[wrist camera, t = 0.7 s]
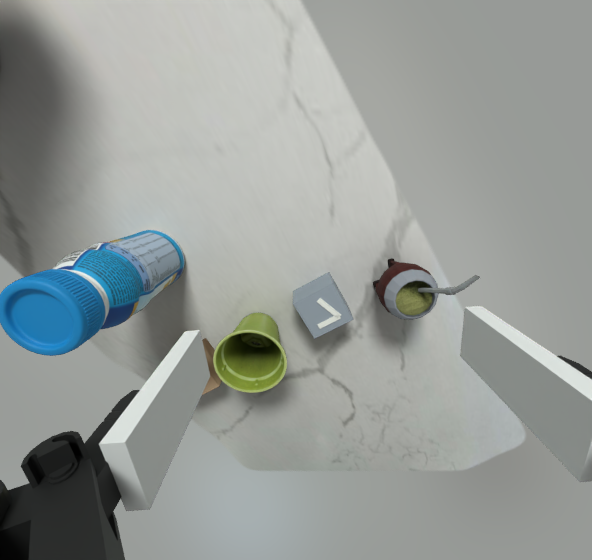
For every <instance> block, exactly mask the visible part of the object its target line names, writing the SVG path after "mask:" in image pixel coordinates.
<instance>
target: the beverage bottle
mask: <svg viewBox="0 0 592 560" xmlns="http://www.w3.org/2000/svg"><path fill="white" fill-rule="evenodd" d="M183 269H184V255H183V252H182V249H181V248H180V246H179V244H178V243H177V242H176V241H175V240H174V239H173V238H172V237H170V236H169V235H167V234H165V233H163V232H160V231H156V230H146V231H142V232H139V233H136V234H134V235H130V236H127V237H124V238H120V239H117V240H113V241H110V242H103V243H98V244H94V245H91V246H89V247H87V248H85V249H83V250H79V251H76V252H73V253H71V254H69V255H67V256H65V257H64V258H63V259H61V260H60V261H59V262H58V263H57V264H56V265H55V266H54V268H53V269H51V270H46V271H42V272H39V273H36V274H33V275H30V276H27V277H24V278H21V279H19V280H17V281H15V282H13V283H12V284H10V285H8V286H7V287H6V288H5V289H4V290H3V291H2V292H1V294H0V323H1V325H2V327H3V329H4V330H5V332H6V333H7V334H8V335H9V337H10V338H11V339H12V340H14V341H15V342H16V343H17V344H19V345H20V346H22V347H23V348H25V349H27V350H29V351H31V352H34V353H37V354H42V355H50V356H53V355H61V354H65V353H67V352H70V351H72V350H74V349H76V348H78V347H79V346H80V345H82V344H83V343H84V342H86V341H87V340H88V339H90V338H91V337H92V336H93V335H95V334H96V333H97V332H98V331H99V330H100V329H106V328H110V327H113V326H116V325H119V324H121V323H123V322H125V321H126V320H127V319H129V318H130V317H131V316H132V315H134V314H136V313H137V312H139V311H140V310H142V309H143V308H144V307H145V306H146V305H147V304H148V303H149V301H150V300H151V299H152V298H153V297H154V296H156V295H157V294H158V293H159V292H161V291H162V290H163V289H164V288H166V287H167V286H169V285H171V284H172V283H174V282H175V281H176V280H177V279H178V278H179V277H180V276H181V274H182V272H183Z"/></svg>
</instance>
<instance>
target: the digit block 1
mask: <svg viewBox="0 0 592 560" xmlns="http://www.w3.org/2000/svg"><path fill="white" fill-rule="evenodd" d="M202 341H203V346H204V350H205V355H206V359H207V363H208V368H209V372H210V378H209V380H208V382H207V384H206V387H205V389H204V391H203V393H202V395H203V394H205V393H207V392H209V391H211V390H213V389H215V388H217V387H219V386H220V383H221V381H222V380H221V379H220V378H219V376H218V374H217V373H216V371H215V368H214V363H213V357H214V352H215V350H214V348H213V347H212V346H211V345H210V343H209V342H208V341H207V339H206V338H205V339H203V340H202Z"/></svg>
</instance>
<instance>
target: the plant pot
mask: <svg viewBox="0 0 592 560" xmlns="http://www.w3.org/2000/svg"><path fill="white" fill-rule="evenodd" d="M252 342H256V343H260V345H256V344H253V343H252ZM213 363H214V368H215V371H216V373H217V374H218V376H219V378H220V379H221V380H222V381H223V382H224V383H225V384H226V385H228V386H229V387H231V388H233V389H235V390H238V391H242V392H247V393H257V392H262V391H266V390H268V389H271V388H273V387H274V386H275V385H277V384H278V383H279V382H280V381H281V380H282V378H283V377H284V375H285V372H286V368H287V358H286V354H285V351H284V349H283V347H282V346H281V344H280V339H279V332H278V326H277V324H276V323H275V321H274V320H273V319H272V318H271V317H270V316H268V315H266V314H263V313H253V314H250V315H248V316H246V317H245V318H244V319H243V320H242V321H241V322H240V324H239V325H238V326H237V328H236V329H235V330H234V332H233V333H231V334H229V335H227V336H226V337H224V338H223V339H222V340H221V341H220V343H219V344H218V345H217V347H216V349H215V352H214V357H213Z"/></svg>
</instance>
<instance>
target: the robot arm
mask: <svg viewBox="0 0 592 560" xmlns="http://www.w3.org/2000/svg"><path fill="white" fill-rule="evenodd" d="M460 356H461V357H462V358H463V360H464V361H465V362H466V363H467V364H468V365H469V366H470V367H471V368H472V369H473V370H474V371H475V372H476V373H477V374H478V375H479V376H480V377H481V379H482V380H483V381H484V382H485V383H486V384H487V385H488V386H489V387H490V388H491V389H492V390H493V391H494V392H495V393H496V394H497V395H498V397H499V398H500V399H501V400H502V401H503V402H504V403H505V404H506V405H507V406H508V407H509V408H510V409H511V410H512V411H513V412H514V413H515V414H516V416H517V417H518V418H519V419H520V420H521V421H522V422H523V423H524V424H525V425H526V426H527V427H528V428H529V429H530V430H531V431H532V432H533V433H534V434H535V436H536V437H537V438H538V439H539V440H540V441H541V442H542V443H543V444H544V445H545V446H546V447H547V448H548V449H549V450H550V451H551V452H552V454H553V455H554V456H555V457H556V458H557V459H558V460H559V461H560V462H561V463H562V464H563V465H564V466H565V467H566V468H567V469H568V470H569V471H570V472H571V474H572V475H573V476H574V477H575V478H576V479H577V480H578V481H579V482H587V481H592V372H591V371H589V370H588V369H587V368H585V367H583V366H582V365H580V364H579V363H576V362H574V361H572V360H569V359H567V358H564V357H562V356H555V355H554V354H552V353H551V352H549V351H548V350H546V349H545V348H543V347H542V346H540V345H539V344H537V343H536V342H534V341H533V340H531V339H530V338H528V337H527V336H525V335H524V334H522V333H521V332H519V331H518V330H516V329H515V328H513V327H512V326H510V325H509V324H507V323H506V322H504V321H503V320H501V319H500V318H498V317H497V316H495V315H494V314H492V313H491V312H489V311H488V310H486V309H485V308H483V307H482V306H474V307H465V311H464V321H463V332H462V342H461V353H460ZM209 378H210V372H209V368H208V363H207V359H206V355H205V350H204V346H203V341H202V337H201V333H200V330H194V331H185V332H184V333H183V335H182V336H181V337H180V338H179V340H178V341H177V342H176V344H175V345H174V346H173V348H172V349H171V350H170V352H169V353H168V354H167V356H166V357H165V358H164V359H163V361H162V362H161V363H160V365H159V366H158V367H157V369H156V370H155V371H154V373H153V374H152V375H151V376H150V378H149V379H148V380H147V382H146V383H145V384H144V386H143V387H142V388H141V390H133V391H131V392H130V393H129V394H127V395H126V396H125V397H124V398H122V399H121V400H120V401H119V402H118V404H117V405H116V406H115V407H114V408H113V409H112V412H111V413H109V414H108V416H107V417H106V418H105V419H104V422H102V423H101V424H100V425H99V426H98V428H97V429H96V430H95V431H94V433H93V434H92V435H91V436H90V437H89V439H88V440H87V441H86V442H85V444H84V442H83V440H82V438H81V436H80V434H79V433H78V432H73V431H70V432H63V433H61V434H58V435H56V436H52V437H51V438H49V439H47V440H45V441H43V442H42V443H40V444H39V445H38V446H36V447H35V448H34V449H33V450H31V451H30V452H29V454H28V455H27V456H26V457H25V458H24V460H23V462H22V465H21V467H22V469H23V471H24V473H25V475H26V477H27V479H28V481H29V482H30V483H29V484H26V485H23V486H20V487H17V488H14V489H11V490H7V488H6V486H5V485H4V483H3V482H2V481H1V480H0V560H125V557H124V553H123V548H122V543H121V539H120V534H119V530H118V526H117V521H116V518H115V515H114V512H113V511H114V509H115V507H116V506H117V504H118V502H119V500H120V498H121V500H122V502H123V505H124V507H125V509H126V511H134V510H149V509H150V508H151V506H152V503H153V501H154V499H155V497H156V495H157V493H158V490H159V488H160V486H161V484H162V481H163V479H164V477H165V475H166V473H167V470H168V468H169V466H170V464H171V462H172V459H173V457H174V455H175V452H176V451H177V448H178V446H179V444H180V442H181V440H182V437H183V435H184V433H185V431H186V429H187V426H188V424H189V422H190V420H191V418H192V415H193V413H194V411H195V409H196V407H197V404H198V402H199V400H200V398H201V396H202V393H203V391H204V389H205V387H206V384H207V382H208V380H209Z"/></svg>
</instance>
